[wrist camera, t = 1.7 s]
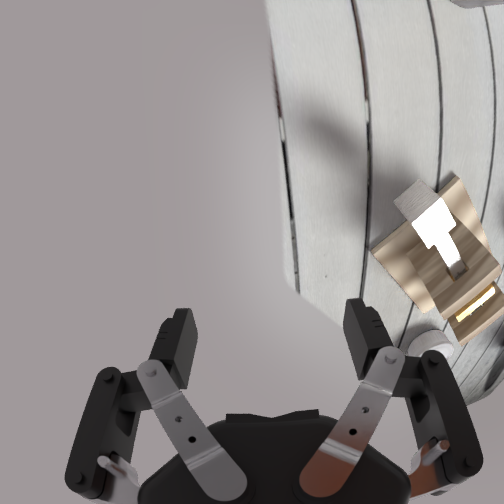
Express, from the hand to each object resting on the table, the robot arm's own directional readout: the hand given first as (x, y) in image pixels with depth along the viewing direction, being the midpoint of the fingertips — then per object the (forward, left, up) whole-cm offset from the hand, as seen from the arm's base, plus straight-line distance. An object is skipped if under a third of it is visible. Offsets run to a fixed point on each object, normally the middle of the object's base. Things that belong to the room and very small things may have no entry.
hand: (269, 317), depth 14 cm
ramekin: (+2, +51, -25) cm, 57 cm away
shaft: (-11, +23, -17) cm, 30 cm away
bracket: (-11, +29, -24) cm, 39 cm away
